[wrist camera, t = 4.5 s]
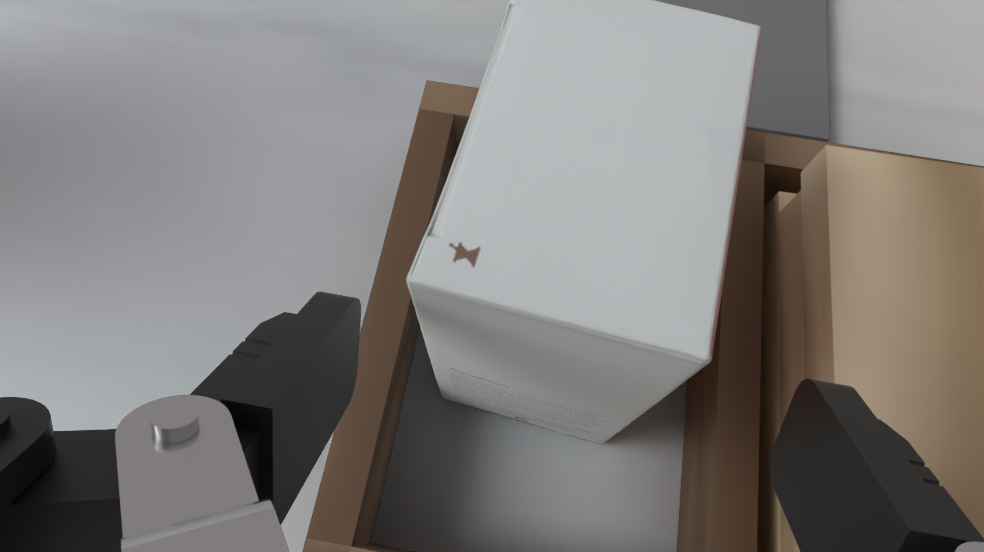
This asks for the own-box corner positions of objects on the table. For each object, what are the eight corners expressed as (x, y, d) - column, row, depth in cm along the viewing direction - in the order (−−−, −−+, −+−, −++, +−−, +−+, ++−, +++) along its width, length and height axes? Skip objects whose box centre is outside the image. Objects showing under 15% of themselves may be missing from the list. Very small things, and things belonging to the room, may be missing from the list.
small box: (603, 448, 20) (716, 377, 10) (436, 399, 21) (397, 288, 11) (649, 232, 23) (773, 17, 13) (502, 193, 24) (518, -41, 14)
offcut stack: (736, 599, 19) (844, 631, 13) (743, 231, 23) (825, 139, 18) (940, 636, 19) (1137, 685, 13) (907, 256, 23) (1043, 170, 18)
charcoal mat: (517, 100, 25) (518, 91, 25) (549, -62, 28) (550, -74, 28) (821, 148, 24) (829, 139, 24) (818, -24, 28) (825, -35, 27)
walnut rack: (320, 579, 19) (292, 588, 16) (432, 130, 24) (426, 80, 22) (1011, 714, 18) (1110, 750, 15) (958, 214, 24) (1022, 172, 21)
